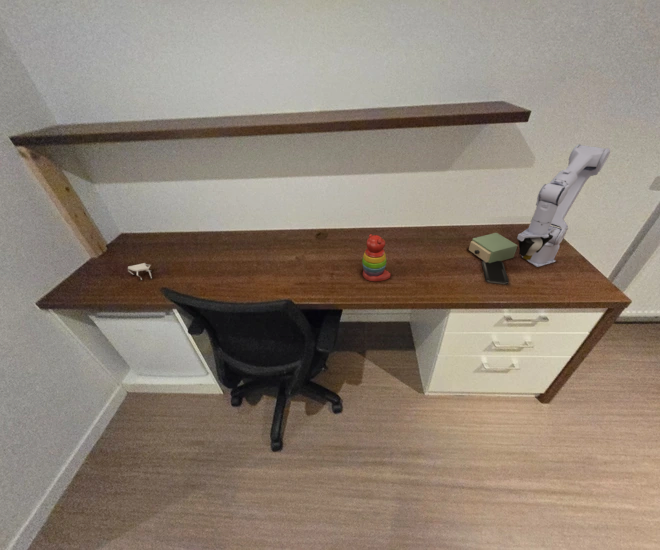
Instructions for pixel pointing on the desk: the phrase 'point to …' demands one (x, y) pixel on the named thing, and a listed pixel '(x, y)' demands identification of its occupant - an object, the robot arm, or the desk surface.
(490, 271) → the phone
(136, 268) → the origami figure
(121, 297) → the desk surface
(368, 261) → the stacking bear
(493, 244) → the cabinet
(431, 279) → the desk surface
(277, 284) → the desk surface
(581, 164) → the robot arm
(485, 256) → the drawer
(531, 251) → the light bulb
